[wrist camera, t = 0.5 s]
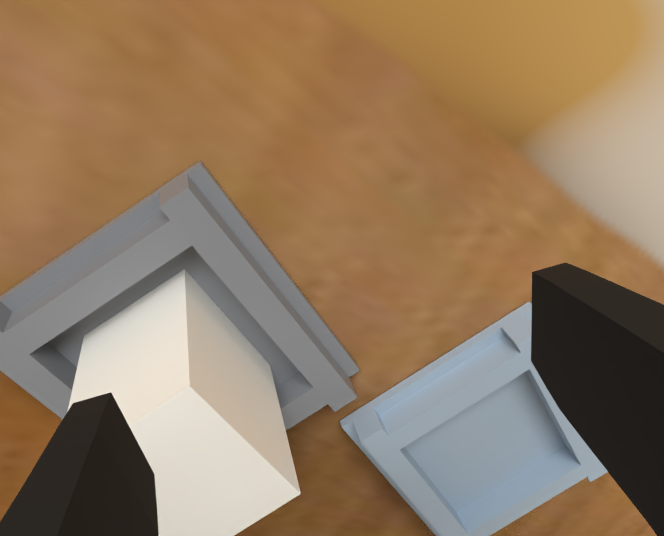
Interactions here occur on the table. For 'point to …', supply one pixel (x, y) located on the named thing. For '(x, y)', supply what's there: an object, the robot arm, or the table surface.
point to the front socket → (153, 270)
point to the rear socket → (474, 435)
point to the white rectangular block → (193, 409)
